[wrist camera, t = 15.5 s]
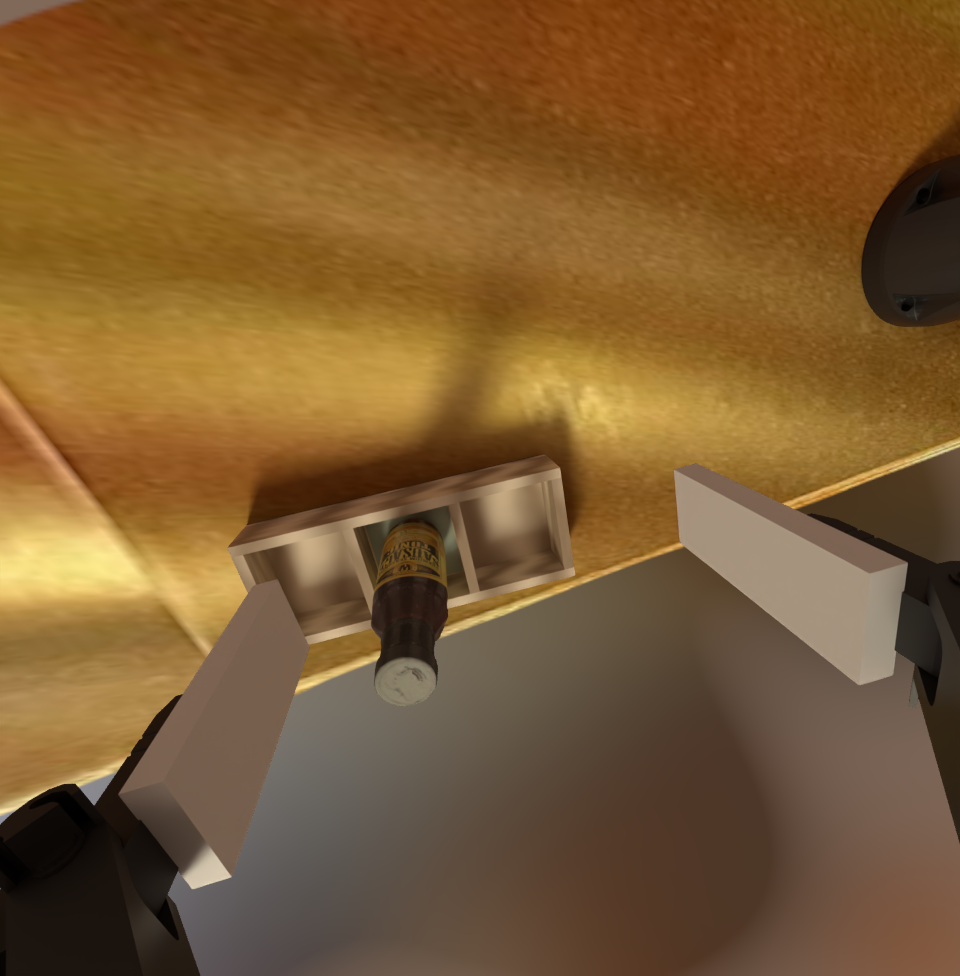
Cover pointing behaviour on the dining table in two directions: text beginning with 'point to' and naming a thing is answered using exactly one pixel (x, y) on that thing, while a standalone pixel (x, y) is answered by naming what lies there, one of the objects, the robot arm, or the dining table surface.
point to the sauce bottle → (409, 611)
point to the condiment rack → (367, 521)
